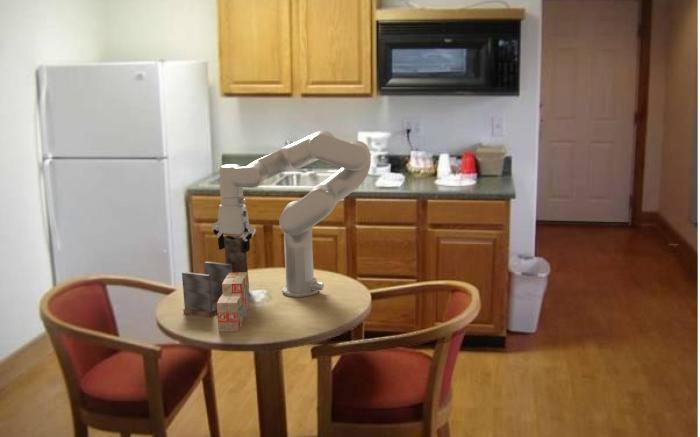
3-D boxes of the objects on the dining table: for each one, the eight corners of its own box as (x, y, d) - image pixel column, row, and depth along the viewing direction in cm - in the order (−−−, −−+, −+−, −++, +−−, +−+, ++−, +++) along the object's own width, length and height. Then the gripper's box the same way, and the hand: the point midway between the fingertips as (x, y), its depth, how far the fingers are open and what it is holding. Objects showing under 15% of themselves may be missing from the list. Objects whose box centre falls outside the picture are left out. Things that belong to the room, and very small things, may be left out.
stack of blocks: (239, 332, 230) (236, 292, 227) (218, 332, 230) (215, 293, 227) (250, 307, 251) (247, 271, 248) (231, 307, 251) (228, 271, 248)
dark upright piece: (228, 289, 269) (224, 234, 264) (249, 288, 270) (246, 233, 265) (227, 296, 262) (223, 239, 257) (249, 295, 262) (245, 238, 258)
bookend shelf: (235, 302, 255) (233, 263, 252) (209, 317, 242) (206, 276, 239) (210, 299, 259) (207, 260, 256) (183, 313, 246) (180, 273, 243)
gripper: (259, 201, 258) (261, 250, 262) (216, 197, 265) (219, 244, 269) (248, 205, 251) (249, 255, 255) (204, 201, 259) (206, 250, 262)
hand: (234, 250), depth 262 cm, fingers open, 9 cm apart
